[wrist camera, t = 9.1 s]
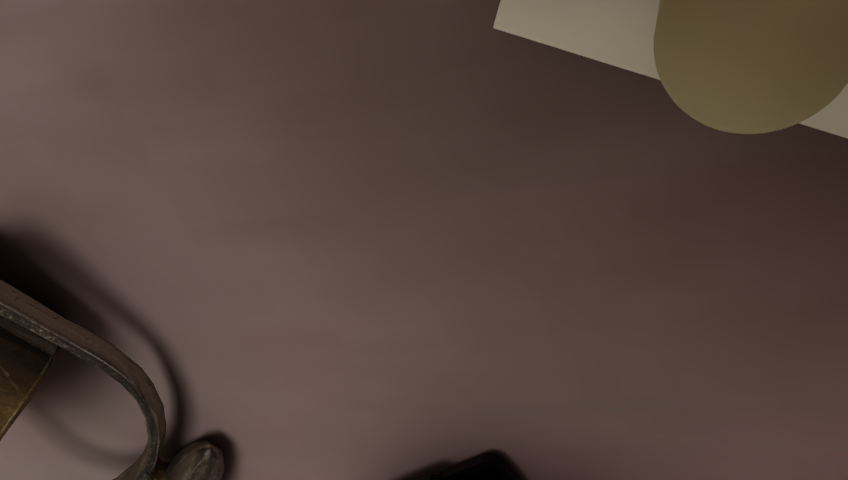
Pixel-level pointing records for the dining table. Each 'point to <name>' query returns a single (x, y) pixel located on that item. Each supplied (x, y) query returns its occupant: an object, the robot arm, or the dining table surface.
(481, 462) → the robot arm
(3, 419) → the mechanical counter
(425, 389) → the dining table surface
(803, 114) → the carrier board
